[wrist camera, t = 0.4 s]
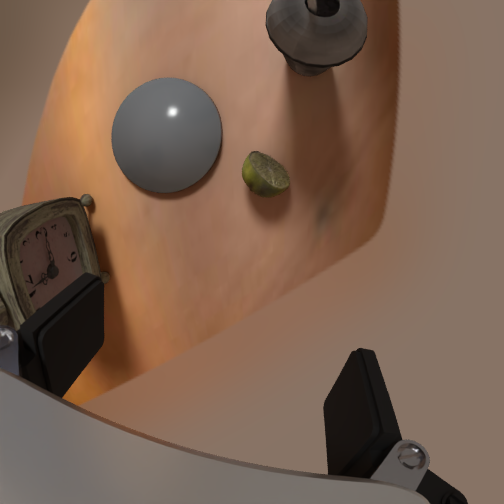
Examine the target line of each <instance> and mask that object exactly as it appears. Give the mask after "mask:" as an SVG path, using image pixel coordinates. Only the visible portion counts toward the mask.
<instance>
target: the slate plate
mask: <svg viewBox="0 0 504 504" xmlns="http://www.w3.org/2000/svg"><path fill="white" fill-rule="evenodd" d="M221 143H222V122H221V118H220V114H219V112H218V109H217V107H216V105H215V104H214V102H213V101H212V99H211V98H210V97H209V95H208V94H207V93H206V92H205V91H203V90H202V89H201V88H199V87H198V86H196V85H194V84H192V83H190V82H188V81H185V80H182V79H177V78H159V79H155V80H152V81H149V82H146V83H144V84H143V85H141V86H139V87H138V88H136V89H135V90H134V91H132V92H131V93H130V94H129V95H128V96H127V97H126V99H125V100H124V101H123V103H122V104H121V106H120V107H119V109H118V111H117V113H116V116H115V119H114V122H113V127H112V149H113V153H114V156H115V159H116V161H117V163H118V165H119V167H120V169H121V170H122V172H123V173H124V174H125V175H126V176H127V178H128V179H129V180H131V181H132V182H133V183H134V184H136V185H138V186H139V187H141V188H143V189H145V190H149V191H152V192H157V193H170V192H176V191H180V190H182V189H185V188H187V187H189V186H191V185H192V184H194V183H196V182H197V181H198V180H200V179H201V178H202V177H203V176H204V175H205V174H206V173H207V172H208V171H209V170H210V169H211V167H212V166H213V164H214V162H215V161H216V158H217V156H218V154H219V151H220V148H221Z"/></svg>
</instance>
